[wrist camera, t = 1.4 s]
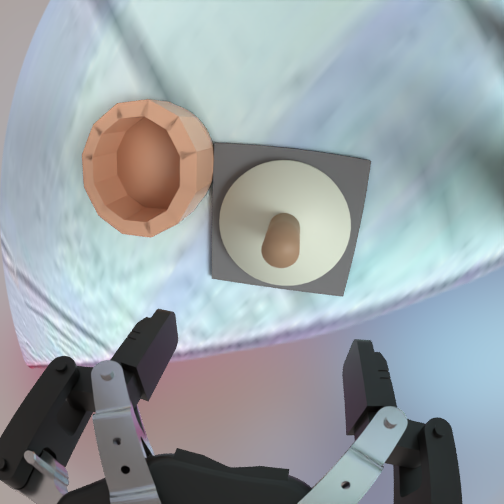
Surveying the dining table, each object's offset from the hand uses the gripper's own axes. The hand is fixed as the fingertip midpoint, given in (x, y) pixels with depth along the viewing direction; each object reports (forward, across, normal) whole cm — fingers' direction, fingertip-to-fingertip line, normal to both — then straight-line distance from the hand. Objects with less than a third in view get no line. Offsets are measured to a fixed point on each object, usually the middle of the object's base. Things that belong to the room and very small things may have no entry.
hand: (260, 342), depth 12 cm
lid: (+16, 0, 0) cm, 16 cm away
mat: (+16, 0, 0) cm, 16 cm away
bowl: (+16, +13, -5) cm, 21 cm away
